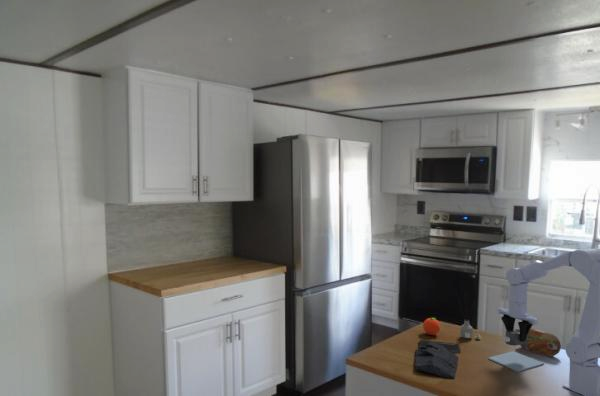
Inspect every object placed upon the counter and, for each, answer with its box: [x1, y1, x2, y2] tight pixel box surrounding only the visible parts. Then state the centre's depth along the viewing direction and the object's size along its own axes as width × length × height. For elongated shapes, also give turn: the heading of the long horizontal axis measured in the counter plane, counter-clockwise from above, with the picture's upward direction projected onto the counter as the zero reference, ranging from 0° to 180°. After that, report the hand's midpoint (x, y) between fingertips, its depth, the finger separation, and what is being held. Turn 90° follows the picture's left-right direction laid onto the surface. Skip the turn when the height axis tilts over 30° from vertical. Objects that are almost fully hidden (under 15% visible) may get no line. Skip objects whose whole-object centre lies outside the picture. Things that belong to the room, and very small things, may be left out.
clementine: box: [422, 317, 441, 336], centre depth 181 cm, size 8×7×7 cm
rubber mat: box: [487, 350, 545, 373], centre depth 154 cm, size 12×14×1 cm
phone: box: [418, 339, 461, 354], centre depth 167 cm, size 8×1×15 cm
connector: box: [501, 328, 528, 346], centre depth 153 cm, size 4×10×4 cm, turn 110°
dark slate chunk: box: [414, 340, 459, 380], centre depth 152 cm, size 15×22×5 cm
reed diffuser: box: [456, 289, 482, 340], centre depth 178 cm, size 10×7×20 cm
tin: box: [519, 327, 562, 358], centre depth 163 cm, size 15×3×8 cm, turn 37°
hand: (516, 338), depth 154 cm, fingers closed on connector, 4 cm apart
